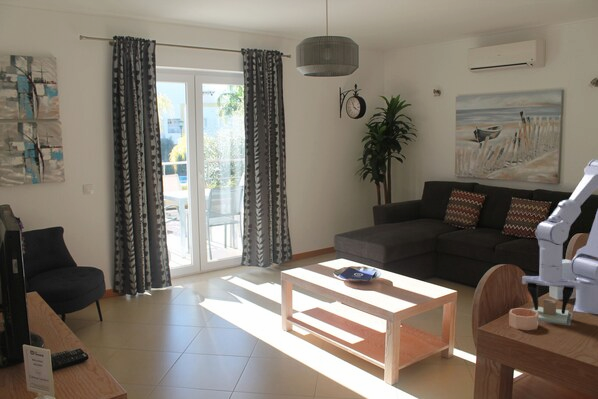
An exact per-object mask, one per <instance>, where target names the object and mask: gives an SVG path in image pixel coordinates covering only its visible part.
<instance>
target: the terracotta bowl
mask: <svg viewBox="0 0 598 399" xmlns="http://www.w3.org/2000/svg"><path fill="white" fill-rule="evenodd" d="M508 326H510V327H512V328H514V329H516V330H523V331H532V330H538V327H539V321H538V312H536V311H534V310H532V309H531V308H524V307H517V308H511V309H510V310H509V312H508Z"/></svg>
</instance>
